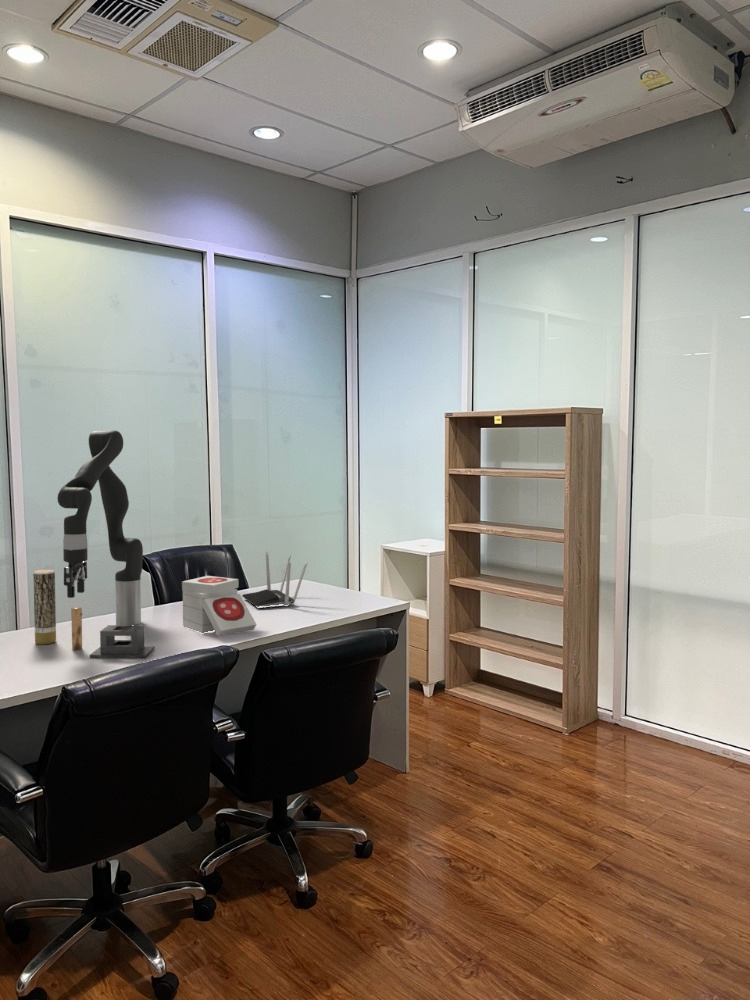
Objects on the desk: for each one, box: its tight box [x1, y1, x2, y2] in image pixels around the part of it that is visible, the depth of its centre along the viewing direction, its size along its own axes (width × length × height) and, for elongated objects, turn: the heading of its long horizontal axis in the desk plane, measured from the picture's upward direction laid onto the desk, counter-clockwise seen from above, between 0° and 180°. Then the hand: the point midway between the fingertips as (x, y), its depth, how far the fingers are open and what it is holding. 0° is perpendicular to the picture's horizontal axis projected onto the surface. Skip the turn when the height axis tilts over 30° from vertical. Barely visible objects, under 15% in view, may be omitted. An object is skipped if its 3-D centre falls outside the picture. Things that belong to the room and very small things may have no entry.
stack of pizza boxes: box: [181, 575, 257, 637], centre depth 286 cm, size 19×30×18 cm, turn 42°
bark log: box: [32, 569, 57, 645], centre depth 265 cm, size 7×7×25 cm
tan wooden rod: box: [70, 606, 83, 651], centre depth 258 cm, size 3×3×14 cm
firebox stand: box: [89, 624, 156, 660], centre depth 253 cm, size 11×18×8 cm, turn 90°
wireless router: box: [241, 551, 309, 607], centre depth 336 cm, size 34×23×20 cm
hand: (76, 595), depth 257 cm, fingers open, 8 cm apart
